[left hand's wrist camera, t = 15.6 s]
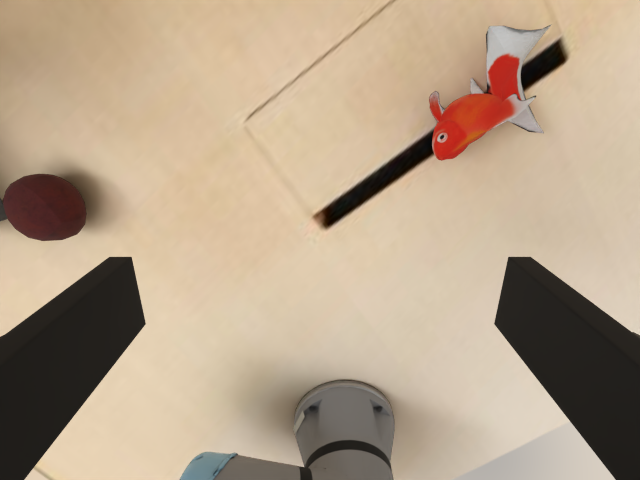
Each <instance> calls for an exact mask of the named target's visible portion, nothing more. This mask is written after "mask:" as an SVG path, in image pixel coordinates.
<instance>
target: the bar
mask: <svg viewBox="0 0 640 480" xmlns="http://www.w3.org/2000/svg"><path fill="white" fill-rule="evenodd" d="M5 219H8V218H7V216H6V213H5V210H4V206H3V203H2V201H1V199H0V221H3V220H5Z"/></svg>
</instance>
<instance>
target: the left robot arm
mask: <svg viewBox="0 0 640 480" xmlns="http://www.w3.org/2000/svg"><path fill="white" fill-rule="evenodd" d="M145 324H146V323H145V319H144V314H143V309H142V304H141V300H140V295H139V290H138V285H137V281H136V276H135V271H134V266H133V262H132V257H109V258H108V259H106V260H105V261H103V262H102V263H101V264H99V265H98V266H97V267H95V268H94V269H93V270H91V271H90V272H89V273H87V274H86V275H85V276H83V277H82V278H81V279H79V280H78V281H77V282H75V283H74V284H73V285H71V286H70V287H69V288H67V289H66V290H64V291H63V292H62V293H60V294H59V295H58V296H56V297H55V298H54V299H52V300H51V301H50V302H48V303H47V304H46V305H44V306H43V307H42V308H40V309H39V310H38V311H36V312H35V313H34V314H32V315H31V316H30V317H28V318H27V319H25V320H24V321H23V322H21V323H20V324H19V325H17V326H16V327H15V328H13V329H12V330H11V331H9V332H8V333H7V334H5V335H3V336H1V337H0V480H24V479H25V478H26V477H27V475H28V474H29V473H30V471H31V470H32V469H33V468H34V466H35V465H36V464H37V463H38V461H39V460H40V459H41V457H42V456H43V455H44V454H45V452H46V451H47V450H48V448H49V447H50V446H51V445H52V443H53V442H54V441H55V439H56V438H57V437H58V436H59V434H60V433H61V432H62V430H63V429H64V428H65V427H66V425H67V424H68V423H69V422H70V420H71V419H72V418H73V416H74V415H75V414H76V413H77V411H78V410H79V409H80V407H81V406H82V405H83V404H84V402H85V401H86V400H87V398H88V397H89V396H90V395H91V393H92V392H93V391H94V389H95V388H96V387H97V386H98V384H99V383H100V382H101V380H102V379H103V378H104V377H105V375H106V374H107V373H108V372H109V370H110V369H111V368H112V366H113V365H114V364H115V363H116V361H117V360H118V359H119V357H120V356H121V355H122V354H123V352H124V351H125V350H126V348H127V347H128V346H129V345H130V343H131V342H132V341H133V339H134V338H135V337H136V336H137V334H138V333H139V332H140V331H141V329H142V328H143V327H144V325H145ZM494 324H495V325H496V327H497V328H498V329H499V331H500V332H501V333H502V334H503V336H504V337H505V338H506V339H507V341H508V342H509V343H510V345H511V346H512V347H513V348H514V350H515V351H516V352H517V354H518V355H519V356H520V357H521V359H522V360H523V361H524V363H525V364H526V365H527V366H528V368H529V369H530V370H531V372H532V373H533V374H534V375H535V377H536V378H537V379H538V380H539V382H540V383H541V384H542V386H543V387H544V388H545V389H546V391H547V392H548V393H549V395H550V396H551V397H552V398H553V400H554V401H555V402H556V404H557V405H558V406H559V407H560V409H561V410H562V411H563V413H564V414H565V415H566V416H567V418H568V419H569V420H570V422H571V423H572V424H573V425H574V427H575V428H576V429H577V430H578V432H579V433H580V434H581V436H582V437H583V438H584V439H585V441H586V442H587V443H588V445H589V446H590V447H591V448H592V450H593V451H594V452H595V454H596V455H597V456H598V457H599V459H600V460H601V461H602V462H603V464H604V465H605V466H606V468H607V469H608V470H609V471H610V473H611V474H612V475H613V477H614V478H615V479H616V480H640V335H638V334H636V333H634V332H631V331H629V330H628V329H627V328H625V327H624V326H623V325H621V324H620V323H619V322H617V321H616V320H615V319H613V318H612V317H610V316H609V315H608V314H606V313H605V312H604V311H602V310H601V309H600V308H598V307H597V306H596V305H594V304H593V303H592V302H590V301H589V300H588V299H586V298H585V297H584V296H582V295H581V294H580V293H578V292H577V291H576V290H574V289H573V288H571V287H570V286H569V285H567V284H566V283H565V282H563V281H562V280H561V279H559V278H558V277H557V276H555V275H554V274H553V273H551V272H550V271H549V270H547V269H546V268H545V267H543V266H542V265H541V264H539V263H538V262H537V261H535V260H534V259H532V258H531V257H508V262H507V266H506V271H505V276H504V281H503V285H502V290H501V295H500V300H499V304H498V309H497V314H496V319H495V323H494ZM293 429H294V434H295V436H296V439H297V443H298V446H299V450H300V453H301V456H302V460H303V463H304V467H299V466H295V465H289V464H283V463H277V462H272V461H266V460H261V459H256V458H251V457H245V456H240V455H238V454H237V453H232V454H223V453H215V452H204V453H201V454H199V455H198V456H196V457H195V458H194V459H193V460H192V461H191V462H190V464H189V465H188V466H187V468H186V469H185V471H184V473H183V474H182V476H181V478H180V480H394V479H393V474H392V470H391V465H390V459H391V451H392V444H393V437H394V429H395V426H394V416H393V412H392V408H391V405H390V403H389V401H388V400H387V398H386V397H385V396H384V395H383V394H382V393H381V392H380V391H378V390H377V389H375V388H374V387H372V386H370V385H367V384H365V383H361V382H357V381H348V380H342V381H333V382H329V383H325V384H322V385H320V386H318V387H316V388H314V389H312V390H311V391H310V392H308V393H307V394H306V395H305V396H304V397H303V398H302V399H301V401H300V402H299V404H298V406H297V409H296V412H295V421H294V428H293Z"/></svg>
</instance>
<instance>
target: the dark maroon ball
mask: <svg viewBox="0 0 640 480" xmlns="http://www.w3.org/2000/svg"><path fill="white" fill-rule="evenodd" d="M3 206H4V210H5V213H6V216H7V218H8V220H9V221H10V223H11V224H12V225H13V226H14V228H15V229H16V230H18V231H19V232H21V233H22V234H24V235H25V236H27V237H28V238H32V239H37V240H41V241H51V240H63V239H66V238H69V237H71V236H74V235H76V234H78V233H79V232H80V230H81V229H82V228H83V226H84V225H85V220H86V209H85V203H84V201H83V199H82V197H81V195H80V193H79V191H78V190H77V189H76V188H75V187H74V186H73V185H72V184H70V183H69V182H67V181H66V180H64V179H62V178H60V177H57V176H54V175H48V174H34V175H29V176H24V177H22V178H20V179H18V180H17V181H15V182H13V183H12V184H10V186H9V187H8V188H7V190H6V192H5V196H4V199H3Z"/></svg>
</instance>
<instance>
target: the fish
mask: <svg viewBox="0 0 640 480" xmlns="http://www.w3.org/2000/svg"><path fill="white" fill-rule="evenodd" d="M551 25H552V24H551ZM551 25H549V26H547V27H545V28H543V29H538V30H518V29H514V28H510V27H506V26H489V28H488V31H487V34H486V43H487V91H488V93H489V94H484V93H483V91H482V90H481V89H480V88H479V86H478V85H477V84H476V82H475V81H474V80H473V78H471V85H470V89H471V94H469V95H466V96H463V97H461V98H459V99H457V100H455V101H453V102H452V103H451V104H450V105H449V106H448V107H447V108H446V109H444V108H442V107H441V105H440V102H439V93H438V92H437V91H435V92H433V93H432V94H431V95H430V97H429V102H430V110H431V112H432V114H433V116H434V117H435V119H436V120H437V121H438V122H437V125H436V127H435V129H434V134H433V139H432V148H433V151H434V154H435V156H436V157H437V159H438V160H441V161H442V160H445V159H453V158H455V157H456V156H458V155H459V154H460V153H461V152H463V151H464V150H465V148H466V147H467V146H468V145H469V144H470V143H472V142H473V141H475V140H477V139H479V138H480V137H482V136H483V135H484V134H485V133H486V132H487V131H489V130H491V129H493V128H495V127H496V126H498V125H500V124H502V123H504V122H506V121H509V122H511V123H513V124H515V125H517V126H519V127H521V128H523V129H525V130H527V131H529V132H538V133H544V132H543V131H542V129H541V127H540V126H539V124H538V123H537V121H536V120H535V118H534V115H533V113H532V111H531V109H530V107H529V104H530V103H531V102H532V101H533V100H534V99H535V97H536V96H533V97H531V98H529V99H527V100H526V98H525V95H524V91H523V88H522V85H521V77H520V74H521V67H522V64H523V61H524V59H525V58H526V56H527V55H528V53H529V52H530V51H531V50H532V48H533V47H534V46H535V44H536V43H537V42H538V41H539V39H540V38H541V37H542V36H543V34H544V33H545V32H546V31H547V29H548V28H549V27H550V26H551Z"/></svg>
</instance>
